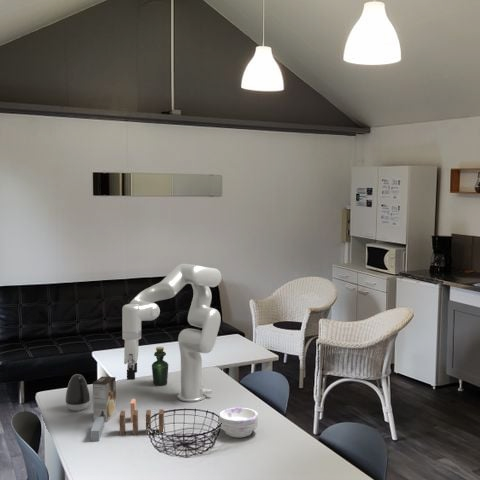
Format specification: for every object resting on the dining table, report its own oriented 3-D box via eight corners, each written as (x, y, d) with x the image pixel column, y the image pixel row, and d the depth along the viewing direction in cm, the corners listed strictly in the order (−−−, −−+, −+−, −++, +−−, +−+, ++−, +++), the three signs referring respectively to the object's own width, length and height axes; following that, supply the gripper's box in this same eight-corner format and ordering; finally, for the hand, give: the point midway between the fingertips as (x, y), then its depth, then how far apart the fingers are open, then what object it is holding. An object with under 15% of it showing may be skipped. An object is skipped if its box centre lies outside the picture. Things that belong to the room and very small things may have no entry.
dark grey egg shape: (72, 415, 255) (71, 379, 253) (61, 408, 262) (60, 374, 261) (94, 409, 261) (93, 374, 260) (83, 402, 269) (82, 369, 268)
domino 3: (138, 429, 239) (137, 410, 238) (137, 435, 234) (136, 414, 233) (134, 430, 239) (133, 410, 238) (132, 435, 234) (132, 415, 233)
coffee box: (102, 412, 257) (101, 375, 256) (116, 413, 256) (116, 376, 254) (93, 420, 248) (92, 382, 247) (107, 422, 247) (107, 383, 246)
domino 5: (163, 429, 240) (163, 409, 239) (163, 434, 235) (162, 414, 234) (159, 429, 240) (159, 409, 239) (159, 434, 235) (158, 414, 234)
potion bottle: (161, 388, 289) (160, 351, 287) (148, 385, 293) (147, 348, 292) (172, 383, 296) (171, 347, 294) (159, 380, 300) (159, 345, 299)
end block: (104, 426, 242) (103, 416, 242) (98, 441, 228) (98, 430, 228) (96, 426, 242) (96, 417, 242) (90, 441, 228) (90, 431, 228)
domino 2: (135, 417, 252) (135, 398, 251) (134, 422, 247) (134, 403, 246) (132, 417, 251) (131, 399, 251) (130, 422, 247) (130, 403, 246)
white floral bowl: (238, 422, 247) (238, 403, 246) (266, 433, 236) (266, 413, 235) (210, 433, 236) (210, 413, 235) (238, 444, 225) (238, 424, 224)
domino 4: (150, 429, 239) (150, 409, 239) (150, 434, 234) (149, 414, 234) (146, 429, 239) (146, 409, 239) (146, 434, 234) (145, 414, 234)
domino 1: (125, 430, 238) (125, 410, 238) (124, 435, 234) (123, 415, 233) (121, 430, 238) (120, 410, 238) (119, 435, 233) (119, 415, 233)
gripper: (124, 330, 254) (124, 370, 256) (120, 339, 237) (120, 382, 238) (142, 329, 255) (142, 369, 256) (139, 339, 238) (139, 382, 239)
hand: (132, 375), depth 247 cm, fingers open, 9 cm apart
